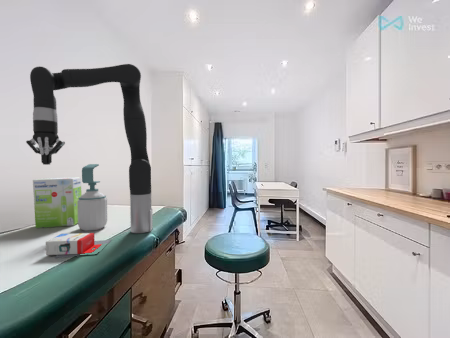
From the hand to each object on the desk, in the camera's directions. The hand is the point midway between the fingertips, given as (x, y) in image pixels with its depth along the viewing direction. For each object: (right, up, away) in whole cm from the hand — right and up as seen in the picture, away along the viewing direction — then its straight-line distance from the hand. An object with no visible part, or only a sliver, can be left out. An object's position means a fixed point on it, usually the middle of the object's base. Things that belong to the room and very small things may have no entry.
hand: (46, 164), depth 87 cm
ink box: (+10, -28, -10) cm, 32 cm away
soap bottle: (+7, -31, +19) cm, 37 cm away
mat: (+20, -31, -7) cm, 37 cm away
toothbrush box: (-15, -31, +27) cm, 43 cm away
